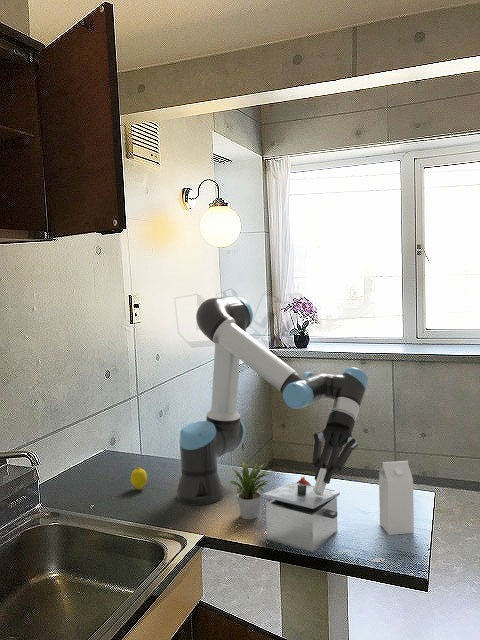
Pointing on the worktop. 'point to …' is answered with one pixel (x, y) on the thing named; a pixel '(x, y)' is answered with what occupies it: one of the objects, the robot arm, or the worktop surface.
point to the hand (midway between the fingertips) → (317, 493)
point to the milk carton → (396, 498)
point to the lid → (301, 495)
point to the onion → (303, 481)
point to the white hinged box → (301, 524)
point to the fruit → (138, 478)
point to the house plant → (249, 491)
